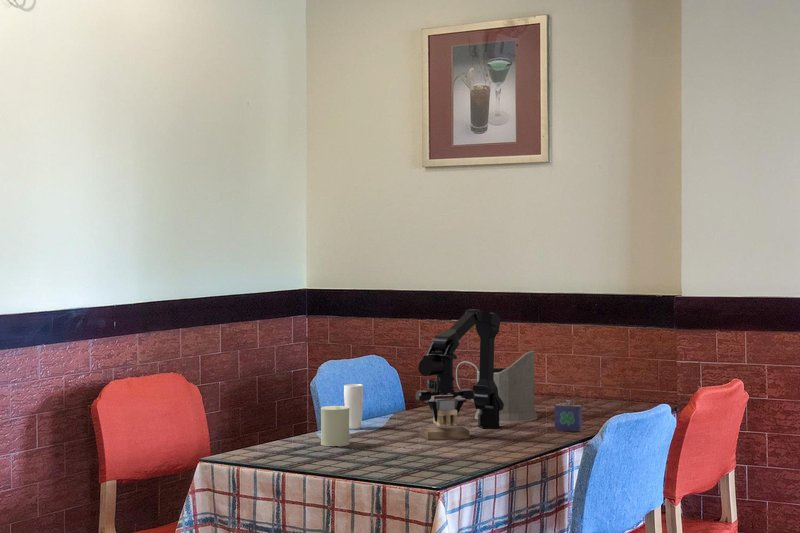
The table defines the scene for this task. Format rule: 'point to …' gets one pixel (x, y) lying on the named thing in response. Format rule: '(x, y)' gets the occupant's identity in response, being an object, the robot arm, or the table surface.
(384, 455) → the table surface
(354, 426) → the drinking glass
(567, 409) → the flask
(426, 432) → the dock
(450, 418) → the block
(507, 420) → the pitcher
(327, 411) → the can
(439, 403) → the block
